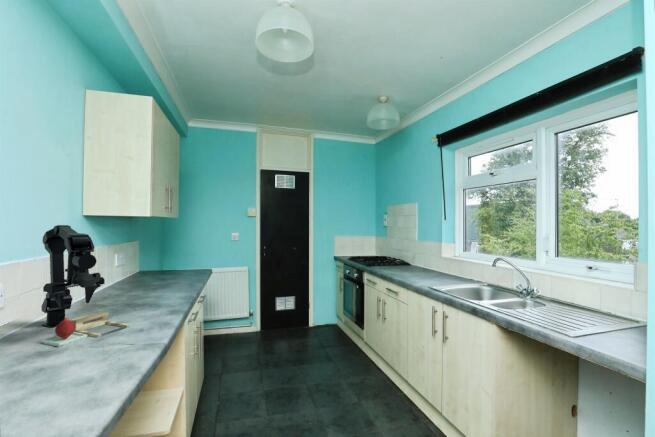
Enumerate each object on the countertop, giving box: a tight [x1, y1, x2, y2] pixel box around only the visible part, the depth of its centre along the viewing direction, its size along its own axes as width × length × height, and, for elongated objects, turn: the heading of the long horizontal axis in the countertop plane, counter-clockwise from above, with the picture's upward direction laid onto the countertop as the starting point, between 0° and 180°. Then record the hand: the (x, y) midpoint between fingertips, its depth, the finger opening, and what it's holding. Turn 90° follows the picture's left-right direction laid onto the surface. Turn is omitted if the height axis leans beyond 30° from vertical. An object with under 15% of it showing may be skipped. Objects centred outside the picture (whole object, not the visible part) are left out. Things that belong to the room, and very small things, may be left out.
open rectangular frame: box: [70, 310, 130, 338], centre depth 128 cm, size 15×13×5 cm
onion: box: [54, 316, 76, 339], centre depth 115 cm, size 6×6×8 cm
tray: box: [41, 332, 88, 348], centre depth 115 cm, size 10×10×1 cm
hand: (74, 305), depth 120 cm, fingers open, 9 cm apart
